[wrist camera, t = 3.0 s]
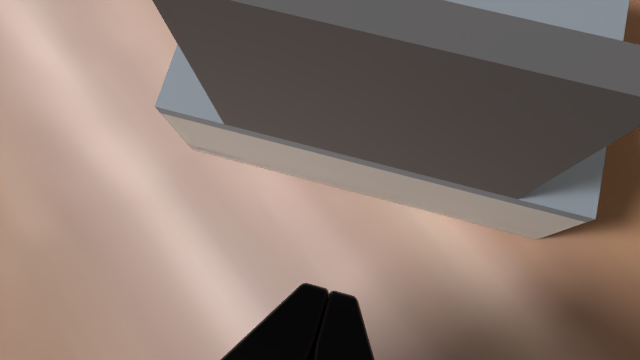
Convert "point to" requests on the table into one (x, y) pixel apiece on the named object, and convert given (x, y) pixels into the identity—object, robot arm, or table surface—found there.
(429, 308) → the table surface
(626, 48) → the carton lid
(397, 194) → the carton
